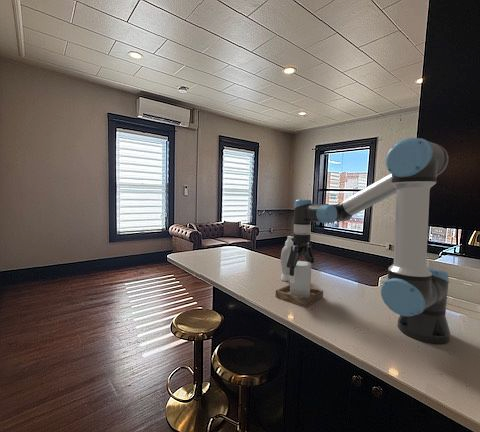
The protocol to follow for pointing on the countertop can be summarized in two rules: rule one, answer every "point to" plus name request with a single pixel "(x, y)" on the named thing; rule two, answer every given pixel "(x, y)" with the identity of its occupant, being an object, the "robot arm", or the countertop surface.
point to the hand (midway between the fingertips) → (300, 279)
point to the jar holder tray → (285, 294)
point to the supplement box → (302, 280)
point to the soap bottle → (286, 259)
